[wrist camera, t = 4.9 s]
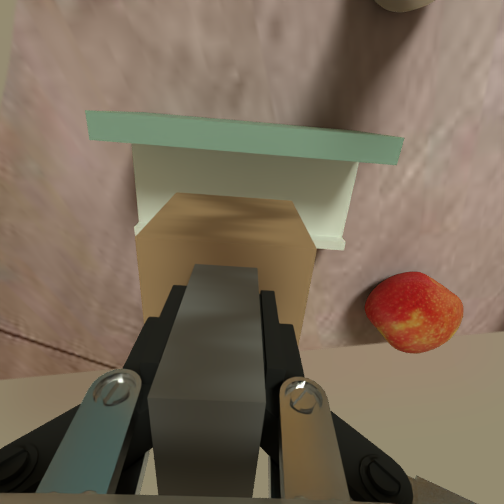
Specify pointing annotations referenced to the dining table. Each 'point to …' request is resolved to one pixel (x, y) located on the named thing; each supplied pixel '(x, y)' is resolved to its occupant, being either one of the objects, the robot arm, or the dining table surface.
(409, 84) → the dining table surface
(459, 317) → the apple
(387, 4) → the plastic bottle
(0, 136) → the dining table surface
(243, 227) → the tan grey tall block
